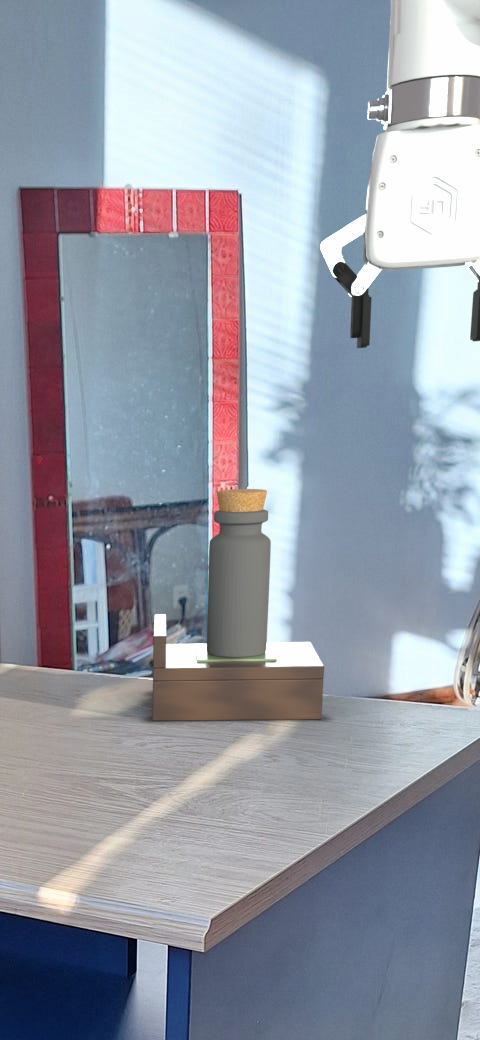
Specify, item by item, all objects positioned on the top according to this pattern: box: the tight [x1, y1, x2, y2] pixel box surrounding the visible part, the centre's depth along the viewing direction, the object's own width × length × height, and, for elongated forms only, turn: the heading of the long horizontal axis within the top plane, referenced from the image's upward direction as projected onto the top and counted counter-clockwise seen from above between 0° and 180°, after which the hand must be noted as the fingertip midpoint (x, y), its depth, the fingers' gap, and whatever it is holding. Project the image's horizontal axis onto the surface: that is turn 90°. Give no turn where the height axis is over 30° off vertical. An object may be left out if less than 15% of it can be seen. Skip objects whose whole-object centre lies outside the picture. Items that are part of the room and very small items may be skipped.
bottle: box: [206, 488, 272, 657], centre depth 142 cm, size 6×6×15 cm
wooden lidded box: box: [152, 613, 325, 722], centre depth 145 cm, size 16×14×8 cm
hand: (419, 344), depth 126 cm, fingers open, 9 cm apart
